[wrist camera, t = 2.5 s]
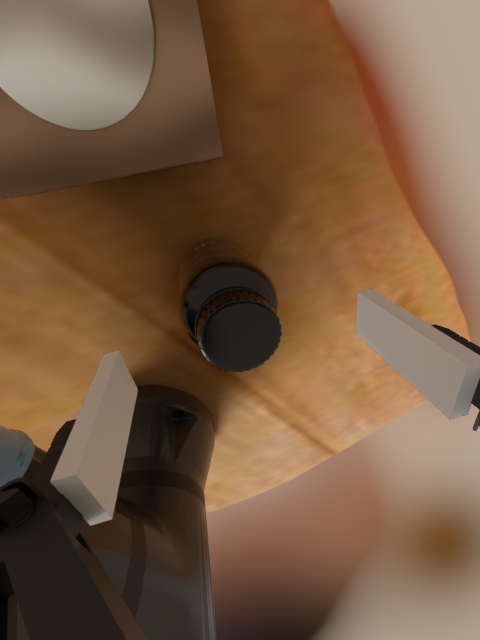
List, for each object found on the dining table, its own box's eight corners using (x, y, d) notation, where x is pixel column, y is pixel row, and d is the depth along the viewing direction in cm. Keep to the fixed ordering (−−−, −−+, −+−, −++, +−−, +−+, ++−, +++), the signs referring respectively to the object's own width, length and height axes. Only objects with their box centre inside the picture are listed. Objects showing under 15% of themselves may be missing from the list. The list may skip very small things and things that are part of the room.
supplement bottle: (260, 290, 27) (310, 361, 17) (197, 316, 27) (208, 404, 17) (236, 223, 24) (281, 261, 13) (164, 253, 24) (153, 314, 13)
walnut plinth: (216, 159, 21) (224, 155, 18) (30, 194, 20) (-4, 199, 16) (160, -147, 14) (153, -259, 11) (-130, -121, 13) (-252, -238, 9)
